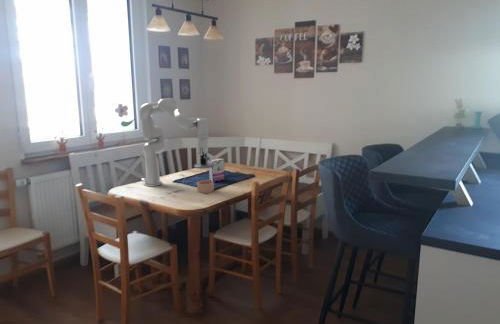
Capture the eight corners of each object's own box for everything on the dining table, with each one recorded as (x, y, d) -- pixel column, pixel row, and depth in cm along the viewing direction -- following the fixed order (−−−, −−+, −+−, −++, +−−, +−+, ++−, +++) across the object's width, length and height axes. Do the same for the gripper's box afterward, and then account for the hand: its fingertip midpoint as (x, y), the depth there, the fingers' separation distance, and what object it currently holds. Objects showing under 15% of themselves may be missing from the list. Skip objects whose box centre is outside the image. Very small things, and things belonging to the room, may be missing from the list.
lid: (191, 168, 265) (190, 158, 264) (197, 163, 279) (196, 154, 277) (211, 168, 263) (211, 158, 262) (216, 164, 277) (216, 154, 275)
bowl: (195, 192, 270) (195, 184, 269) (200, 188, 281) (199, 180, 279) (211, 193, 268) (211, 184, 267) (215, 188, 279) (214, 180, 278)
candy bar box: (221, 178, 306) (220, 158, 302) (225, 180, 302) (224, 159, 298) (209, 181, 299) (208, 160, 295) (212, 182, 295) (212, 161, 291)
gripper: (200, 135, 275) (202, 160, 279) (194, 138, 259) (195, 166, 263) (211, 135, 274) (212, 161, 278) (205, 138, 258) (206, 166, 262)
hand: (204, 163), depth 270 cm, fingers closed on lid, 3 cm apart
